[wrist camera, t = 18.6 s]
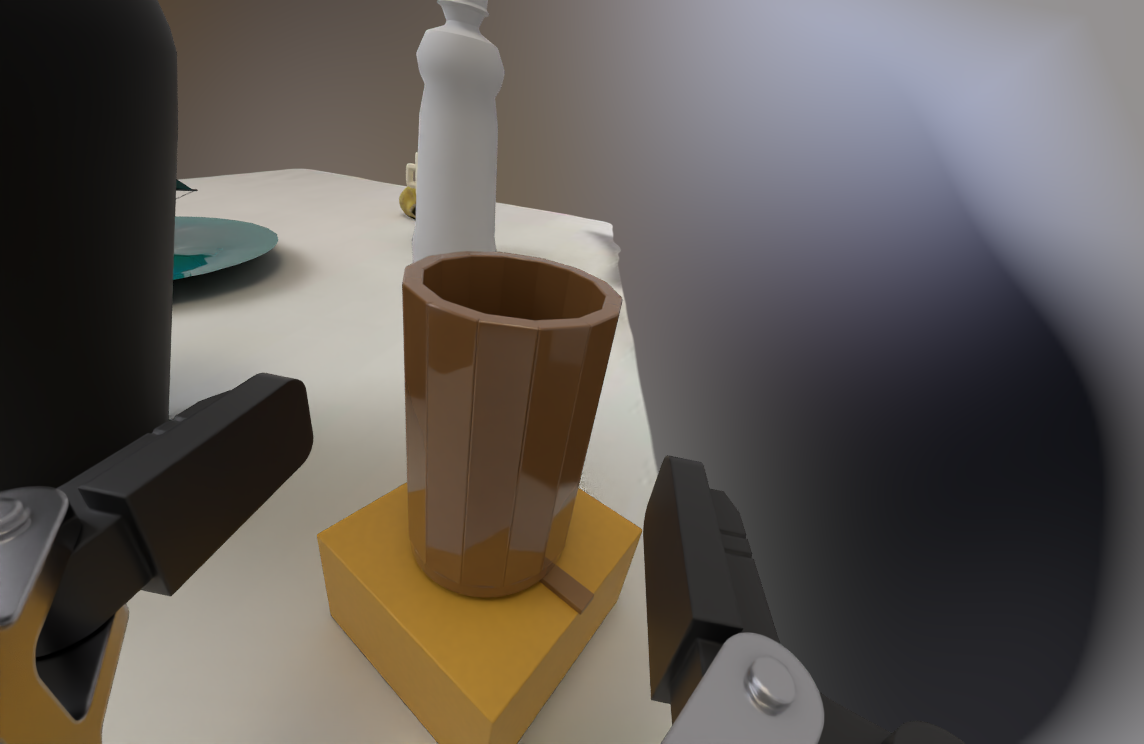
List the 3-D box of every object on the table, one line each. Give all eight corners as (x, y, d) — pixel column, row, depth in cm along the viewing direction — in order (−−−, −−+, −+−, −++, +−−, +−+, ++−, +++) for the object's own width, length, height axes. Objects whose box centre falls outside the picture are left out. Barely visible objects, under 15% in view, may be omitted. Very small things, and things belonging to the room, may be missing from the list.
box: (619, 601, 21) (646, 526, 18) (483, 797, 14) (496, 722, 12) (484, 499, 25) (491, 426, 22) (328, 613, 18) (313, 527, 16)
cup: (595, 523, 18) (657, 297, 13) (489, 637, 13) (526, 353, 9) (492, 453, 21) (512, 244, 16) (373, 528, 16) (352, 264, 11)
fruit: (407, 224, 77) (391, 203, 83) (438, 234, 81) (420, 214, 87) (418, 193, 75) (400, 174, 80) (449, 205, 79) (430, 186, 85)
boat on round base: (225, 220, 61) (197, 131, 56) (329, 268, 48) (304, 156, 42) (-116, 256, 41) (-215, 122, 36) (-105, 355, 28) (-263, 164, 22)
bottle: (477, 282, 57) (495, -13, 42) (503, 309, 50) (536, -29, 36) (404, 283, 52) (397, -48, 37) (423, 313, 45) (422, -73, 31)
